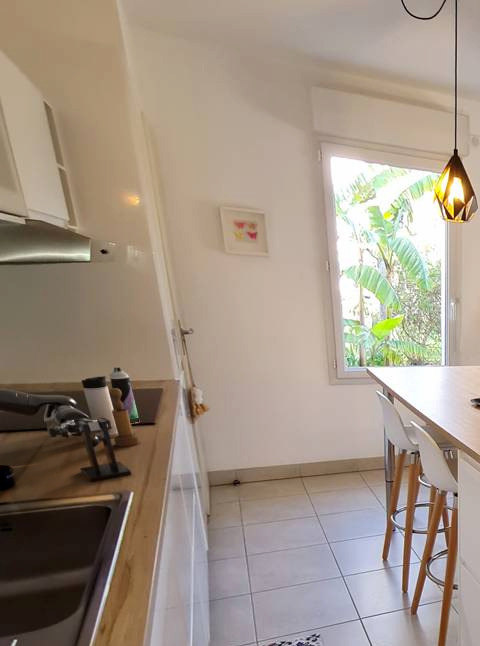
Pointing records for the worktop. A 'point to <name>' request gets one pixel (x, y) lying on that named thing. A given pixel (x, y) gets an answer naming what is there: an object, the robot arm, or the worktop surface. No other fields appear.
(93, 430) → the tap lever
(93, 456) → the bracket
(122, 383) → the spray can
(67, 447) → the worktop surface
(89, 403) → the travel mug
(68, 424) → the robot arm
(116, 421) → the wooden pepper mill
